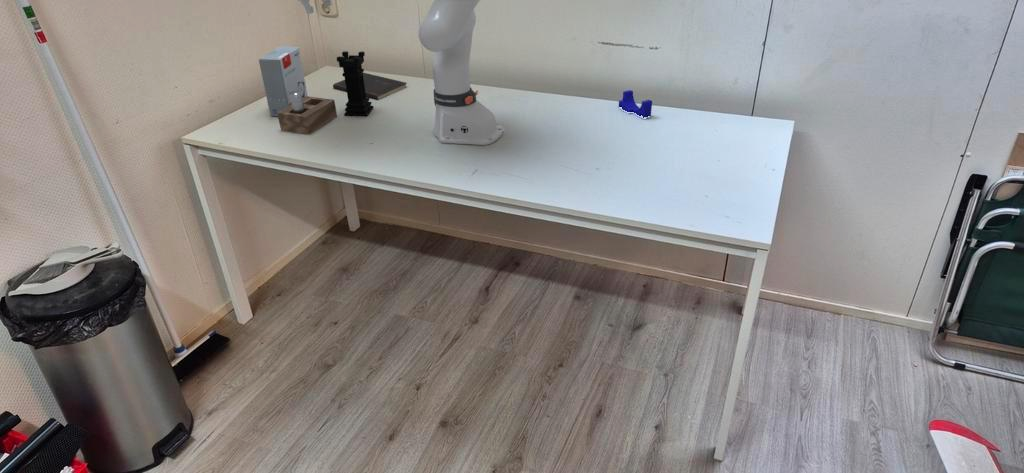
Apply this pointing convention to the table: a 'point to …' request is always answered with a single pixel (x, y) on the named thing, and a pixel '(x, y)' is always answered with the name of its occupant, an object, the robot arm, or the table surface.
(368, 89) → the hardcover book
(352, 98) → the chess piece
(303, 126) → the bore block
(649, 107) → the cable clip
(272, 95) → the hard drive box
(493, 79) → the table surface
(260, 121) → the table surface
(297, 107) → the pin
